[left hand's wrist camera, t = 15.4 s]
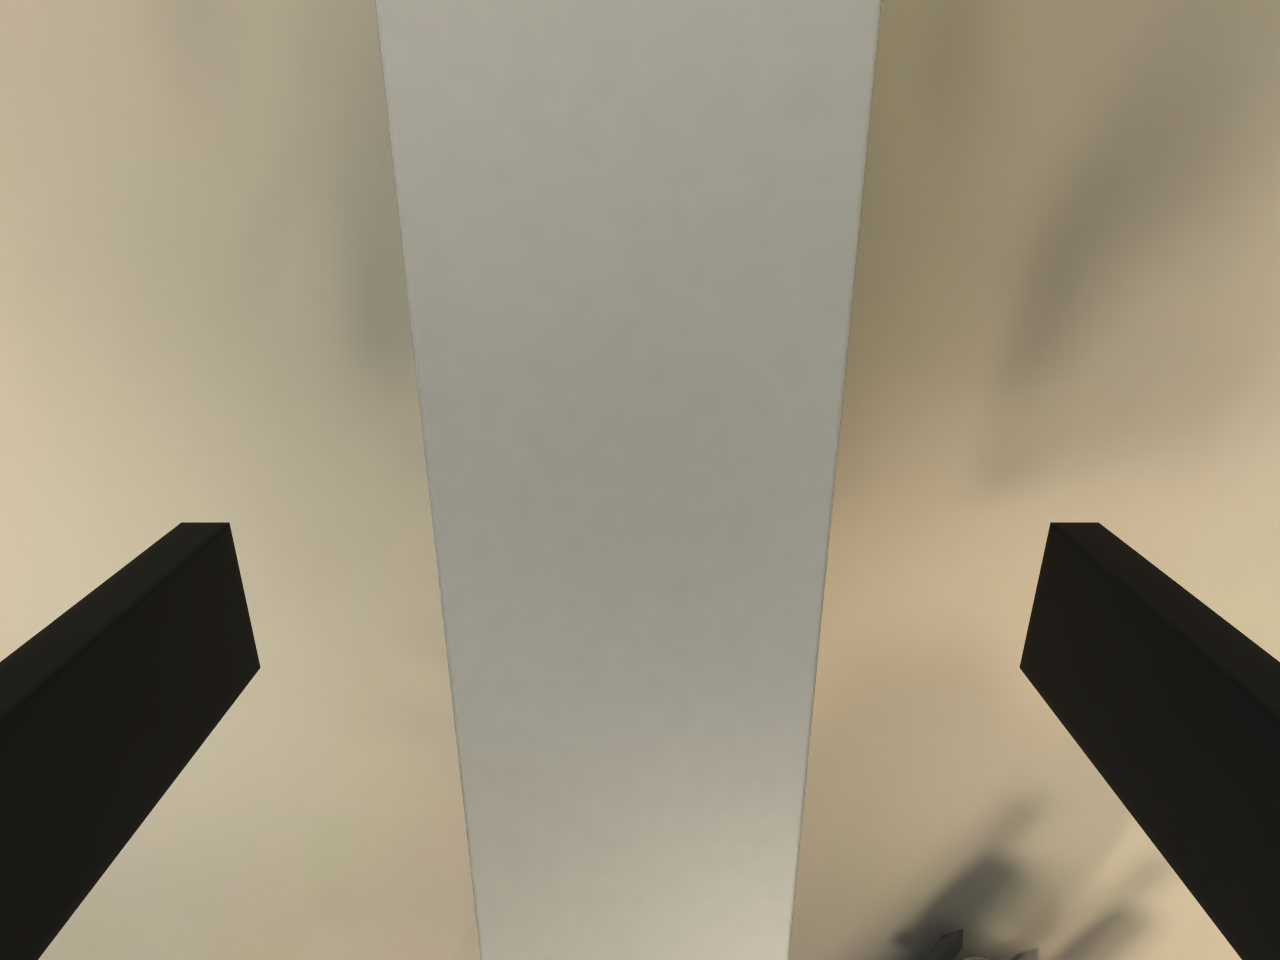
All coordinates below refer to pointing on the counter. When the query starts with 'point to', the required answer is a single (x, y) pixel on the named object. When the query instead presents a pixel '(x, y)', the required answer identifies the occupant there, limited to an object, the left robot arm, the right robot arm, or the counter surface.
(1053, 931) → the counter surface
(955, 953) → the black wheeled rover
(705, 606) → the post
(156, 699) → the left robot arm
